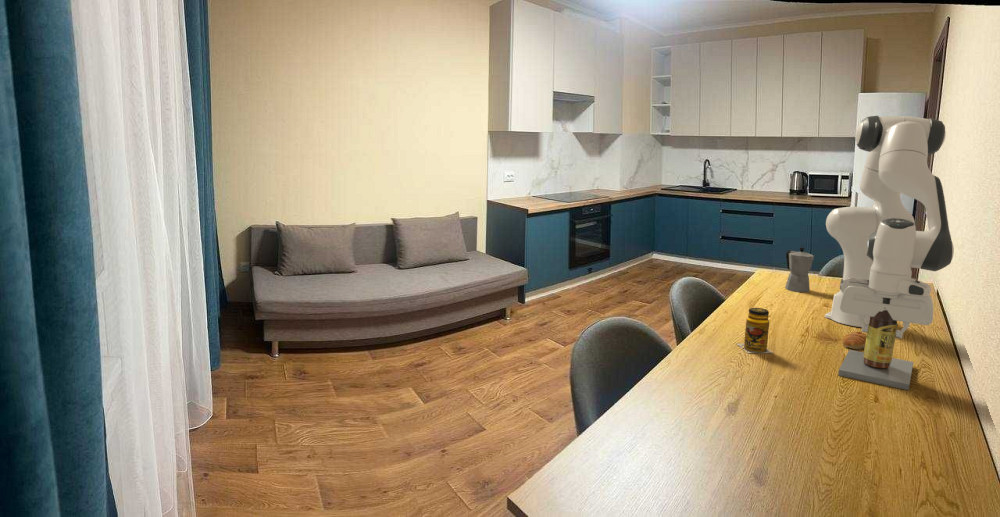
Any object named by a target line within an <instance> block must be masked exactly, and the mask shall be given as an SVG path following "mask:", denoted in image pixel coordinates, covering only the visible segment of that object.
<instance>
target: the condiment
mask: <svg viewBox="0 0 1000 517" xmlns="http://www.w3.org/2000/svg"><path fill="white" fill-rule="evenodd" d="M769 313H770V312H769V310H768V309H767V308H766V309H765V308H762V307H751V308H749V309H748V314H747V317H746V322H745V329H744V338H743V339H744V342H743V343H735V344H736V345H737V346H739V348H740V349H742V348H743V346H744V349H742V350H743V351H745V350H746V351H745V352H746V353H748V354H774V352H773V351H772V350H770V349H768V339H769V330H770V328H769V327H770V320H769V317H770V316H769ZM747 351H748V352H747Z"/></svg>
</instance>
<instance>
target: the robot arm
mask: <svg viewBox="0 0 1000 517" xmlns="http://www.w3.org/2000/svg"><path fill="white" fill-rule="evenodd" d="M945 140H946V125H945V124H944V123H943V121H942V120H939V119H934V118H931V117H930V118H923V117H917V116H909V115H908V116H907V115H903V116H901V115H900V116H897V115H896V116H895V115H894V116H893V115H892V116H891V115H890V116H884V115H883V116H879V115H870V116H866V117H865V118H863V119H862V120H861V121H860V123H859V124H858V126H857V128H856V131H855V142H856V146H857V147H858V149H860V150H861V151H865V152H868V154H867V156H866V159H865V164H864V168H863V170H862V175H861V179H860V183H859V189H860V192H861V193H862V194H863V195H864V196H865V197H867V198H869V199H871V200H873V205H872V206H870V207H868V206H846V207H845V206H844V207H843V206H842V207H838V208H834V209H832V210H831V211H830V212H829V213H828V215H827V217H826V220H825V226H826V227H825V228H826V231H827V232H828V235H830V236H831V237H832V238H833V239H834V240H836V241H837V243H838V244H839V245H840V248H841V249H842V253H843V272H842V278H841V279H840V283H839V285H840V286H839V291H838V292H836V293H835V294H834V295H833V299H832V306H831V311H829V312H827V313H825V314H824V318H826V319H830V320H833V321H834V322H836V323H839V324H843V325H846V326H852V327H858V328H861V330H860V332H862V333H866V334H867V332H868V327H869V326H868V325H869V322H870V317H874V316H875V315H876V314H877V313H878V312H879V311H881V312H882V311H883V310H887V311H888V312H889V314H890V316H891V317H892V319H893V320H896V321H897V322H902V326H903V327H902V328H901V329H897V331H896V336H895V339H896V338H898V339H903V336H904V332H905V331H906V330H908V328H910V324H917V325H923V326H929V325H931V324H932V323H933V320H934V301H933V298H932V296H931V295H930V294H931V293H932V292H931V291H932V286H931V285H930V284H928V283H926V282H923V281H920V280H918V279H917V278H913V277H912V273H913V272H912V268H914V269H921V270H925V271H930V272H931V271H932V272H938V271H940V270H942V269H944V268H947V267H948V266H950V265H951V263H952V261H953V258H954V252H955V251H954V250H955V247H954V243H953V241H952V235H951V231H950V226H949V220H948V212H947V206H946V201H945V194H944V188H943V184H942V181H941V179H940V177H938V176H936V175H934V174H933V173H932V172H931V169H929V165H928V157H929V155H930V156H931V155H934V154H935V153H937V152H938V151H940V149H941V148H942V145H944V143H945ZM901 194H902V195H905V196H908V197H910V198H912V199H915V200H916V201H919V202H920V203H921V204H922V205H923V206H924V207H925V212H926V219H927V228H928V230H925V231H922V230H916V228H917V227H916V224H915V219H914V216H913V215H912V213H911V212H910V211H909V210H907V208H905V206H904V205H903V203H902V199H901ZM883 298H890V299H891V300H890V304H883ZM885 308H886V309H885Z"/></svg>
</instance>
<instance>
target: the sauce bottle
mask: <svg viewBox="0 0 1000 517" xmlns="http://www.w3.org/2000/svg"><path fill="white" fill-rule="evenodd" d="M890 300H891V299H890V298H883V304H890ZM885 309H886V308H885ZM898 325H899V324H898V321H896V320H893V319H892V317H891V316H890V314H889V312H888V311H887V310H883V311H882V312H881V311H879V312H878V313H877V314H876V315H875V316H874V317H870V322H869V325H868V326H869V327H868V332H867V333H866V336H867V337H866V343H865V348H864V350H863V352H864V363H865V364H866V365H868V366H870V367H874V368H882V369H886V368H888V367H889V366H890V363H891V361H892V358H893V353H894V348H895V342H896V338H895V336H896V331H897V330H898Z"/></svg>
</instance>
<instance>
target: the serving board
mask: <svg viewBox="0 0 1000 517" xmlns="http://www.w3.org/2000/svg"><path fill="white" fill-rule="evenodd" d="M913 366H914V361H911V360H910V361H909V360H906V359H900V358H895V357H892V361H891V363H890V366H889V367H888V368H886V369H882V368H874V367H870V366H868V365H866V364H865V363H864V351H859V350H853V349H848V352H847V354H846V355H845V357H844V359H843V361H842V363H841V364H840V367H839V369H838V374H837V376H839V377H845V378H848V379H854V380H858V381H864V382H867V383H872V384H877V385H882V386H887V387H892V388H895V389H901V390H904V391H905V390H906V391H909V389H910V383H911V379H912V372H913Z"/></svg>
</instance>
